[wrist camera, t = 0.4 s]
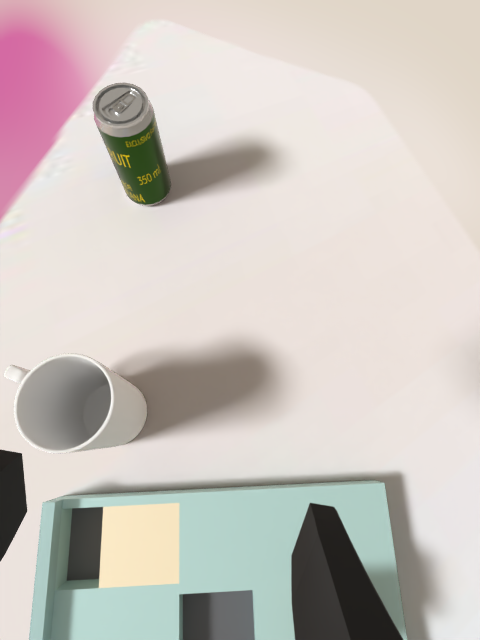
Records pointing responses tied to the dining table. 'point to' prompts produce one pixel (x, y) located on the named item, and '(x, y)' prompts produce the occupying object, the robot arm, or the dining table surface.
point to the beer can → (133, 142)
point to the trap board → (194, 561)
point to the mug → (75, 405)
